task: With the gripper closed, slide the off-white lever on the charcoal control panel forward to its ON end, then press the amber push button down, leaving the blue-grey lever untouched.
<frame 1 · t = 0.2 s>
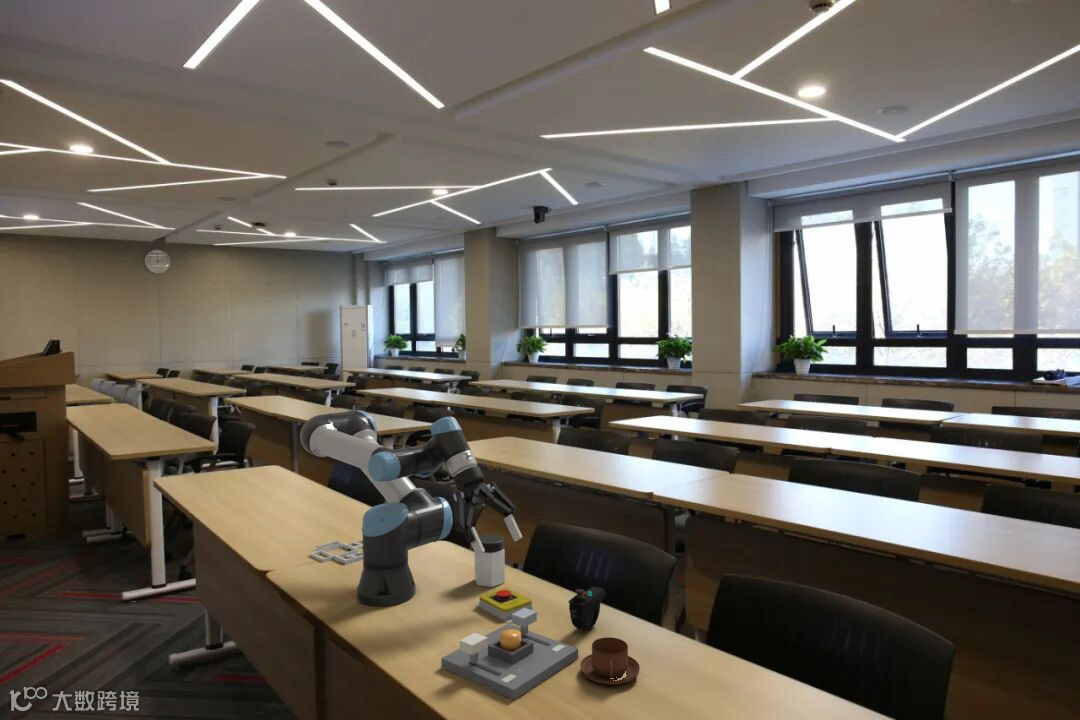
hand: (500, 546, 172), 16 cm above the table, tool tilted 35°, fingers open, 13 cm apart
jar: (489, 582, 190), on the table
floor plan model: (338, 557, 212), on the table
controller: (587, 628, 161), on the table
slate lever: (524, 623, 152), point 5 cm above the table, slide at 0.0 cm
control panel: (510, 662, 144), on the table
emergency button: (506, 611, 171), on the table
cream lever: (473, 650, 139), point 5 cm above the table, slide at 0.0 cm
amber button: (510, 639, 144), point 5 cm above the table, slide at 0.0 cm
cup and saucer: (609, 675, 139), on the table
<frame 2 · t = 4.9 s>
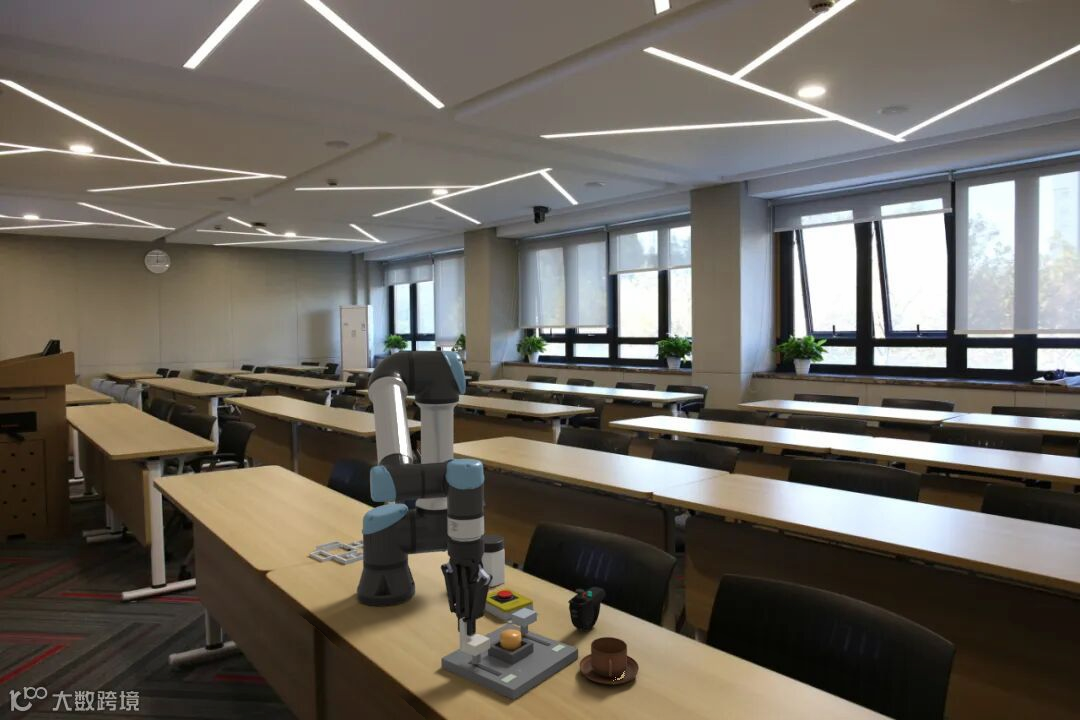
hand: (467, 648, 140), 5 cm above the table, tool pointing down, fingers closed
cream lever: (476, 651, 139), point 5 cm above the table, slide at 0.7 cm, touching gripper
everything else where it was.
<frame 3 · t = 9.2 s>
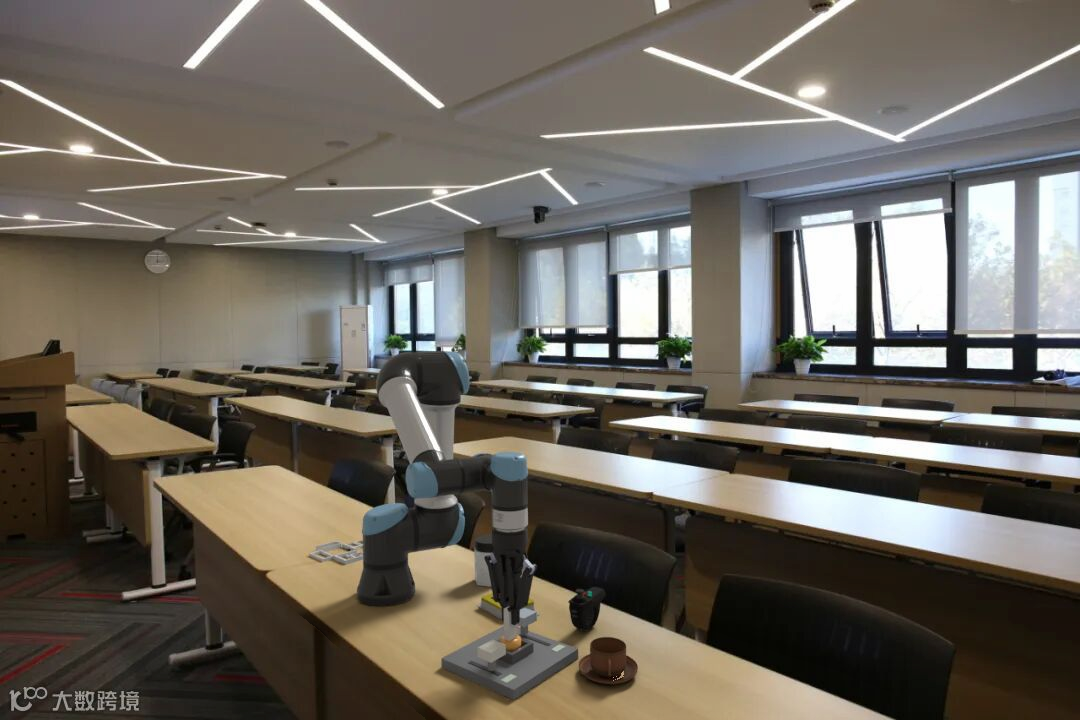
hand: (510, 637, 144), 5 cm above the table, tool pointing down, fingers closed
cream lever: (491, 657, 136), point 5 cm above the table, slide at 5.0 cm
amber button: (510, 644, 144), point 4 cm above the table, slide at 1.0 cm, touching gripper
everything else where it was.
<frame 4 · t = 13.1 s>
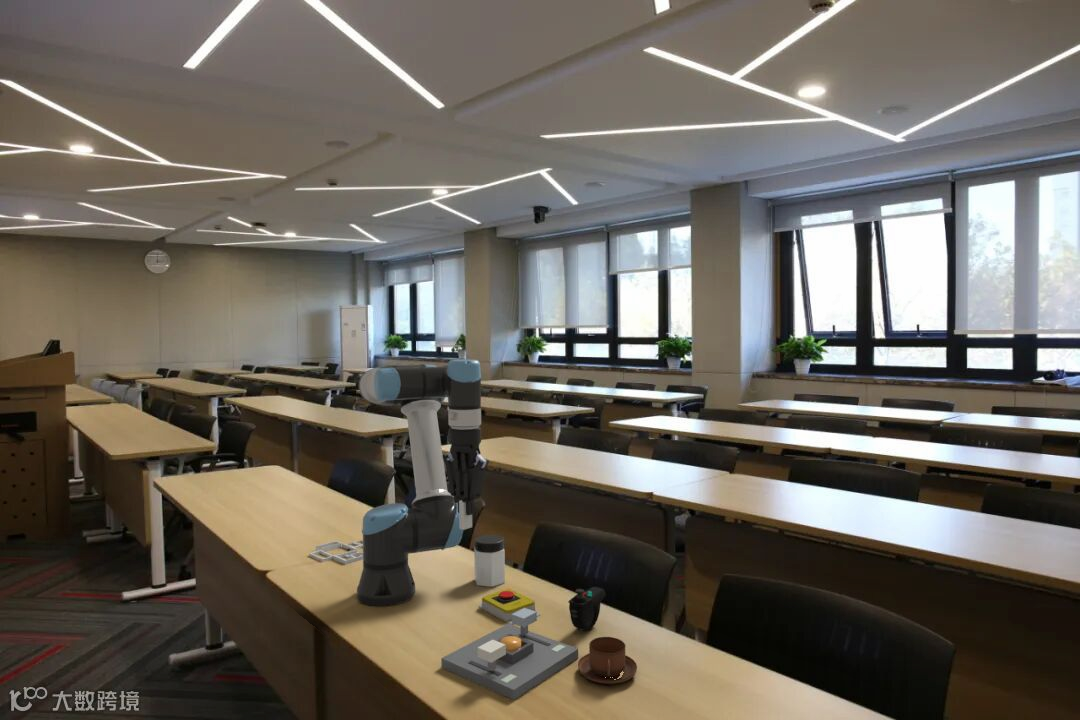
hand: (465, 527, 158), 24 cm above the table, tool pointing down, fingers closed
amber button: (510, 646, 144), point 4 cm above the table, slide at 1.5 cm
everything else where it was.
at the end: cream lever slide at 5.0 cm; amber button slide at 1.5 cm; slate lever slide at 0.0 cm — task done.
